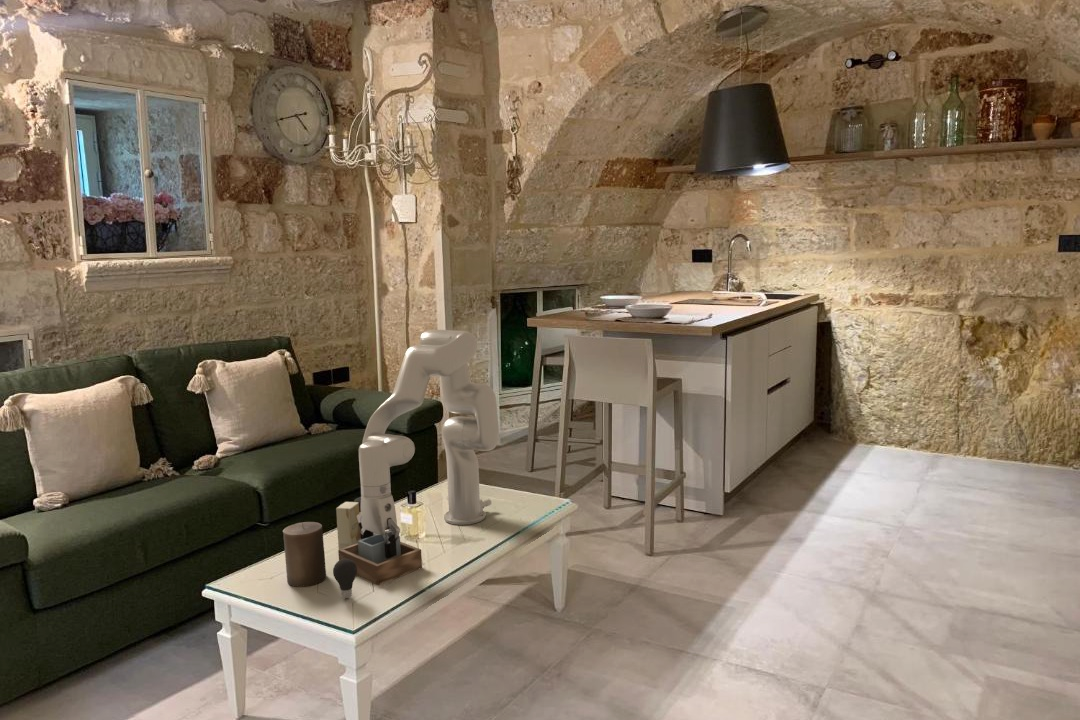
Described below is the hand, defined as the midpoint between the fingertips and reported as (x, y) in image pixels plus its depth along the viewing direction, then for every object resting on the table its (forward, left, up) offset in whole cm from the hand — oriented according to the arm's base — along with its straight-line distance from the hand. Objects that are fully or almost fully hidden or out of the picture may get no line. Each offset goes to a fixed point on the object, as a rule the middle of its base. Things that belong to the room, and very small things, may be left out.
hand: (379, 552), depth 217 cm
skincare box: (-4, -19, -4) cm, 20 cm away
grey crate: (0, 0, -3) cm, 3 cm away
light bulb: (+16, +9, -4) cm, 19 cm away
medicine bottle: (-11, -21, -4) cm, 24 cm away
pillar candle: (+16, -9, -5) cm, 19 cm away
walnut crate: (0, 0, -4) cm, 4 cm away
